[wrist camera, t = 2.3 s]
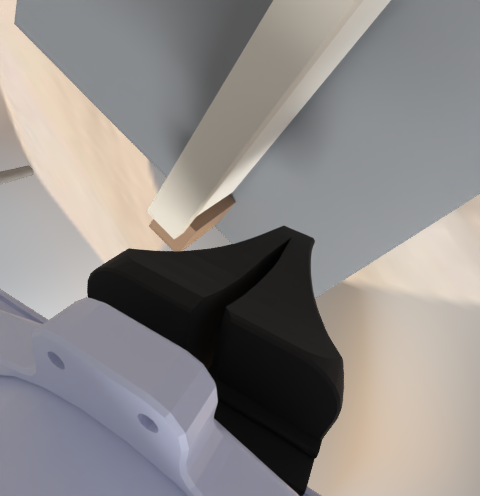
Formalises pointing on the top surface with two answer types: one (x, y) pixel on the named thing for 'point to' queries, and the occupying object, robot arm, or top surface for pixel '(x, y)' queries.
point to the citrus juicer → (15, 174)
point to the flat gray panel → (303, 124)
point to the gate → (260, 101)
